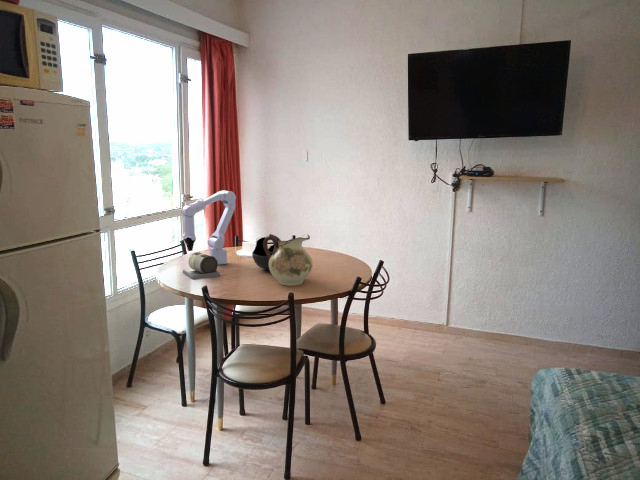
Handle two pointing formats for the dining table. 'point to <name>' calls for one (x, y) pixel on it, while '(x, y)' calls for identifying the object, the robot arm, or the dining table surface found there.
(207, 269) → the coffee can
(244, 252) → the dish
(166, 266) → the dining table surface
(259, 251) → the bowl of black rocks
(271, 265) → the pitcher
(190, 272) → the tray
